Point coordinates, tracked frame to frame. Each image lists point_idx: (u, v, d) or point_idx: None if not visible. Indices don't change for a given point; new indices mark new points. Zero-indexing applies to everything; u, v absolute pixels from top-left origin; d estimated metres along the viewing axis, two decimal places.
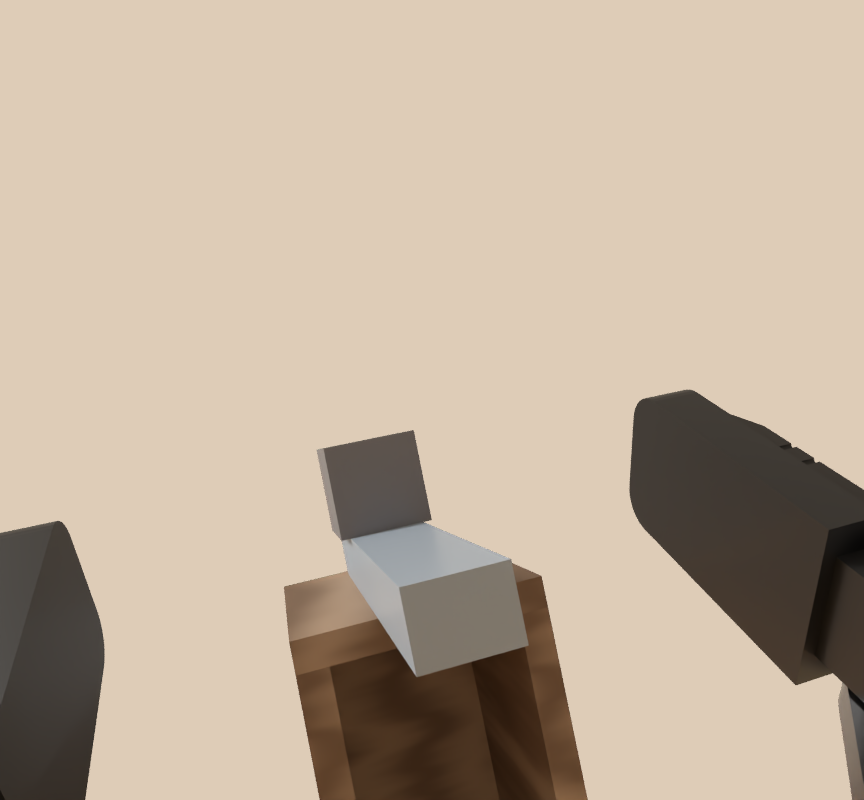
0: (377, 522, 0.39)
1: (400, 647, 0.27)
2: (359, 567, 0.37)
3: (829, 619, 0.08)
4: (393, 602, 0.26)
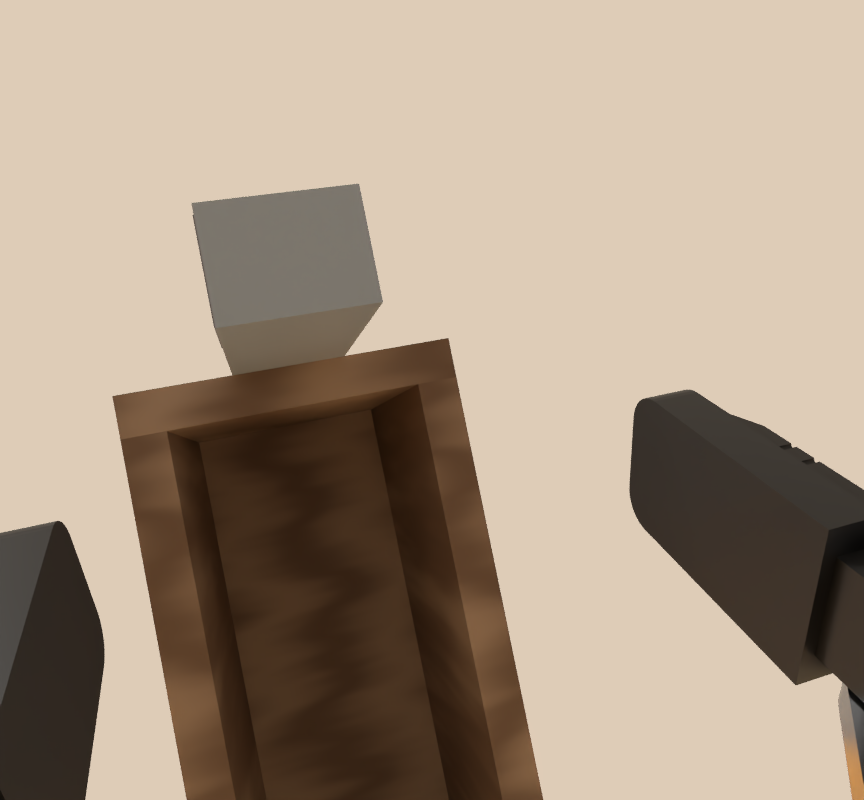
0: None
1: None
2: None
3: (829, 619, 0.08)
4: None
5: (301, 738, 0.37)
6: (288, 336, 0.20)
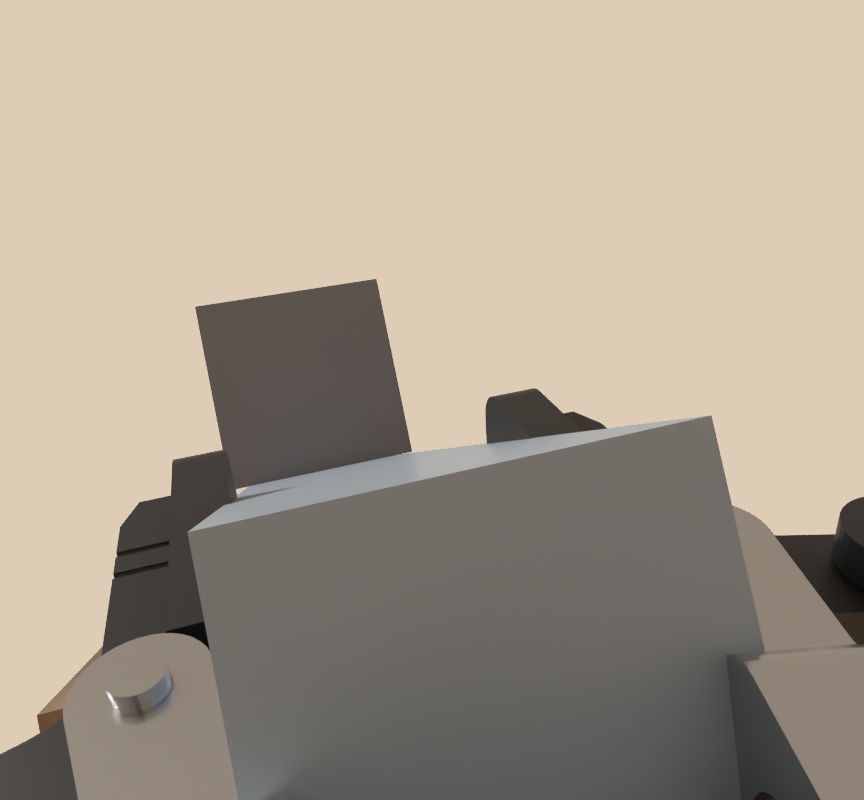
0: (304, 455, 0.20)
1: None
2: None
3: None
4: None
5: None
6: None
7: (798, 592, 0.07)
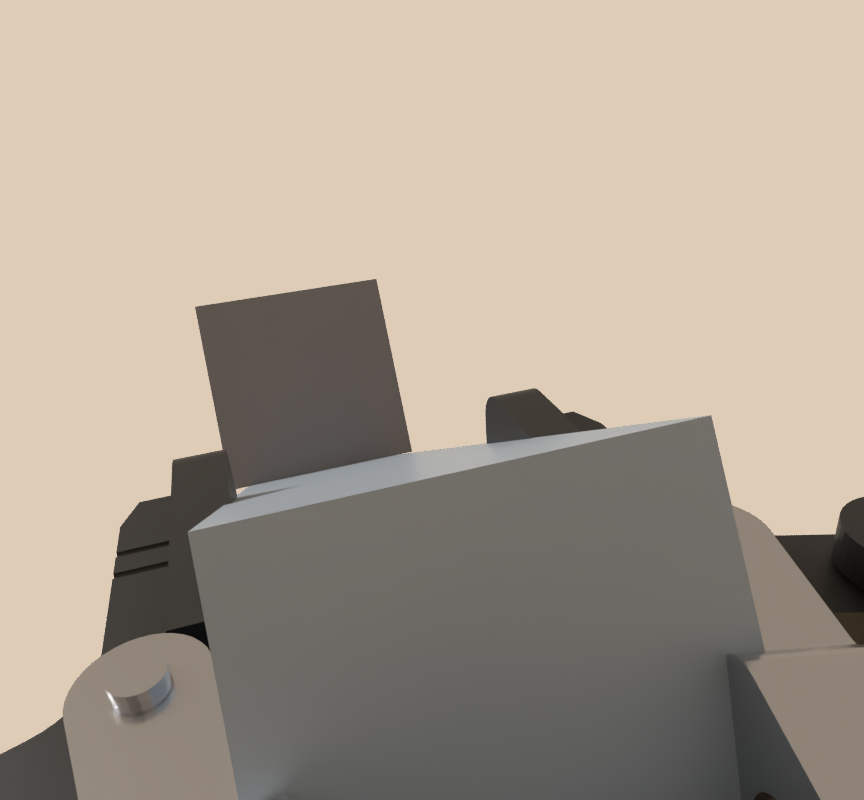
0: (304, 455, 0.20)
1: None
2: None
3: None
4: None
5: None
6: None
7: (798, 592, 0.07)
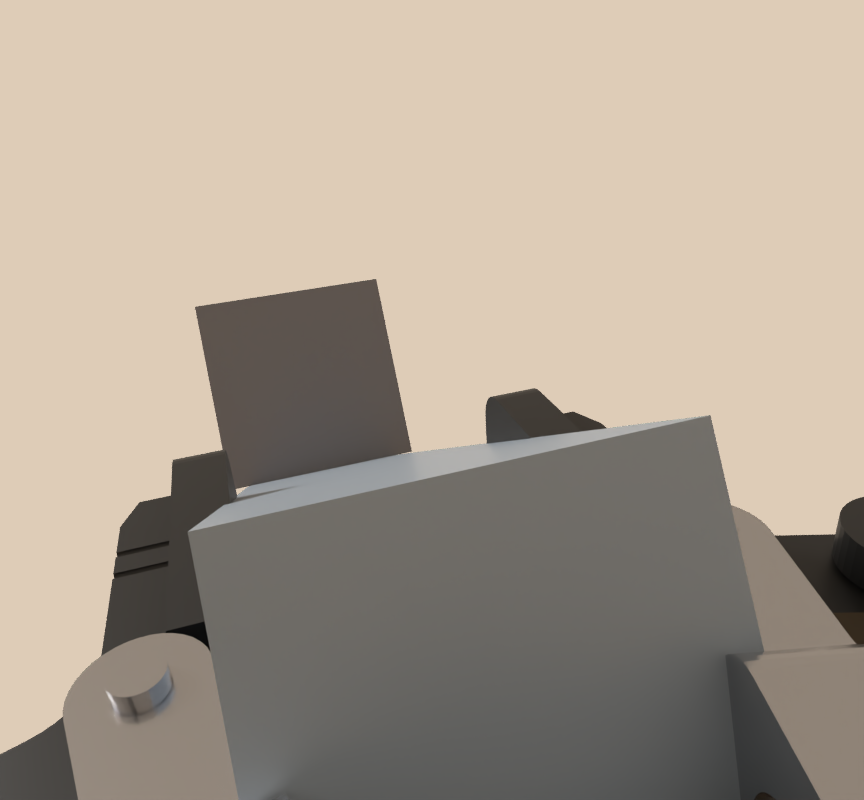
0: (304, 455, 0.20)
1: None
2: None
3: None
4: None
5: None
6: None
7: (798, 592, 0.07)
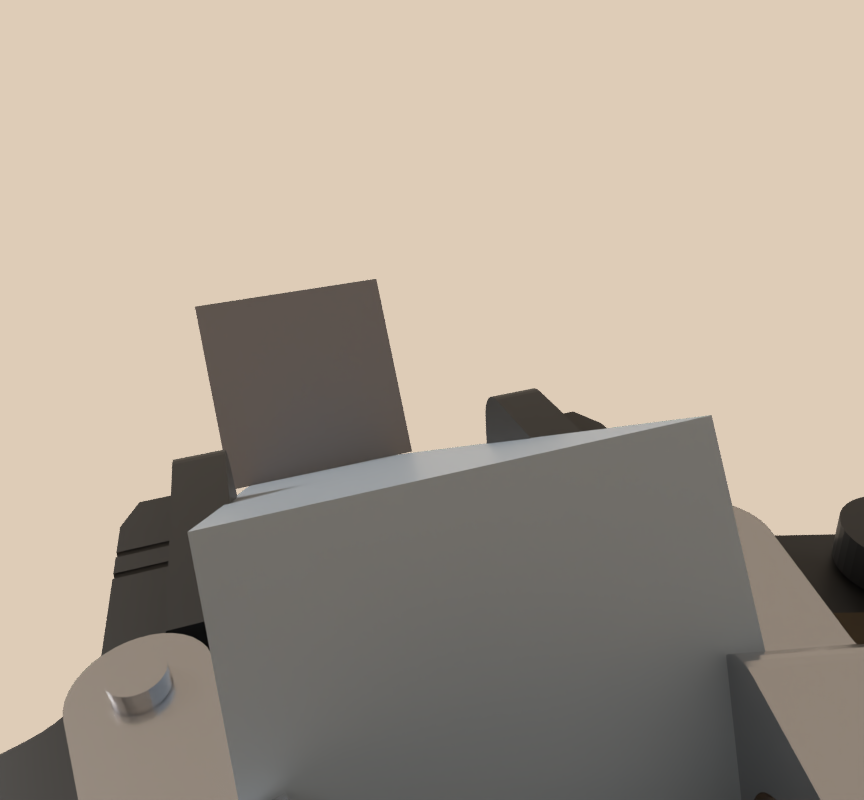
0: (304, 455, 0.20)
1: None
2: None
3: None
4: None
5: None
6: None
7: (798, 592, 0.07)
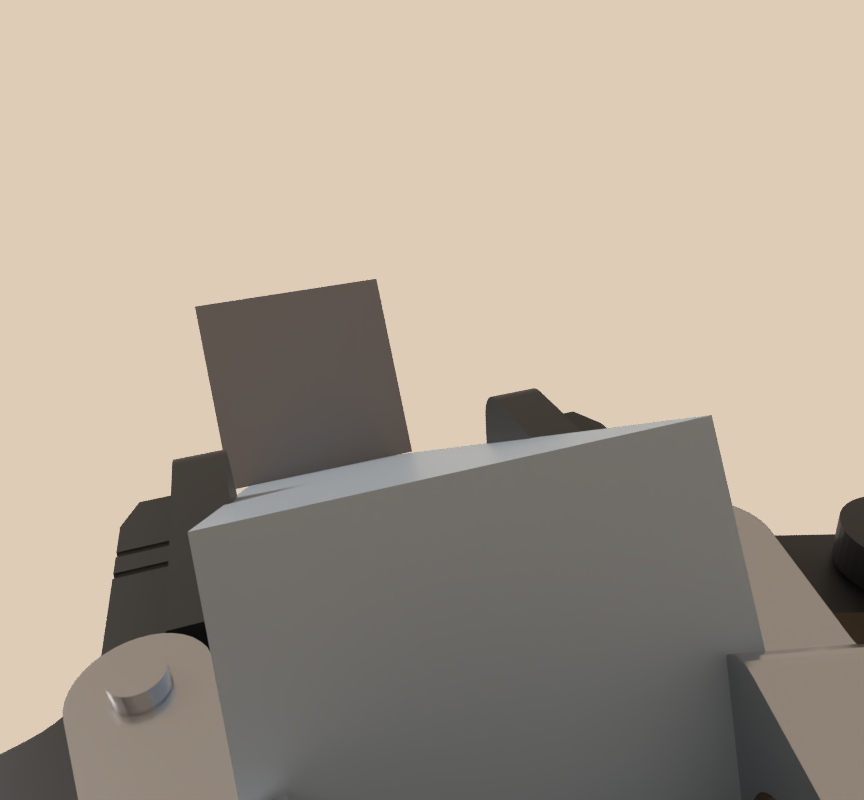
0: (305, 455, 0.20)
1: None
2: None
3: None
4: None
5: None
6: None
7: (798, 592, 0.07)
